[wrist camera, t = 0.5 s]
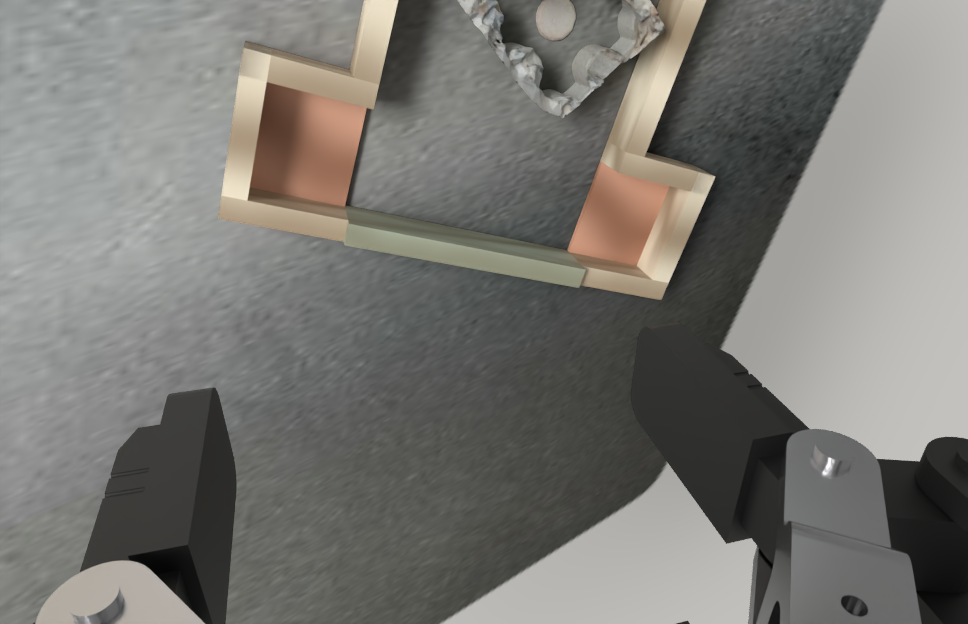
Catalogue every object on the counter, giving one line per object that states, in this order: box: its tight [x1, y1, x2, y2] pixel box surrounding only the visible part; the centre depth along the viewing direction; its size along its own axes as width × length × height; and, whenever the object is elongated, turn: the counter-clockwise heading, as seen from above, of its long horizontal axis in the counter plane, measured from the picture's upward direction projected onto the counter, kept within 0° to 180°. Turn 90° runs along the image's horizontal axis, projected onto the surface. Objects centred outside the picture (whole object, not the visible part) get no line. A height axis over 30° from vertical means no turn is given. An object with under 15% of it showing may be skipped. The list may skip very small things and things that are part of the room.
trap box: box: [218, 0, 715, 300], centre depth 34 cm, size 22×26×3 cm
